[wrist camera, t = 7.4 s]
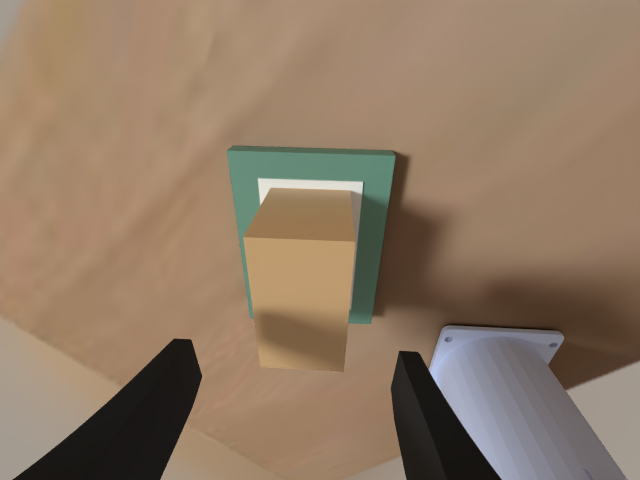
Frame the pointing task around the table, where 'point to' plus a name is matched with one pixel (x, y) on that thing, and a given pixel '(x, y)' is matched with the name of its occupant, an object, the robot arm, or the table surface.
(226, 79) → the table surface
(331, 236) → the block
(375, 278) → the board
